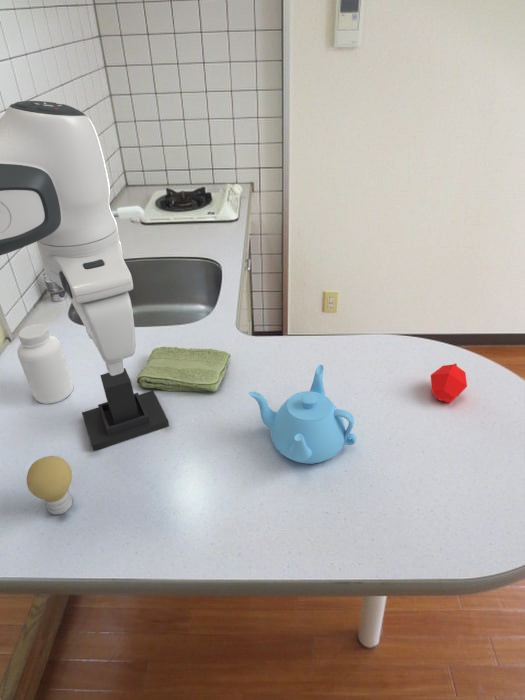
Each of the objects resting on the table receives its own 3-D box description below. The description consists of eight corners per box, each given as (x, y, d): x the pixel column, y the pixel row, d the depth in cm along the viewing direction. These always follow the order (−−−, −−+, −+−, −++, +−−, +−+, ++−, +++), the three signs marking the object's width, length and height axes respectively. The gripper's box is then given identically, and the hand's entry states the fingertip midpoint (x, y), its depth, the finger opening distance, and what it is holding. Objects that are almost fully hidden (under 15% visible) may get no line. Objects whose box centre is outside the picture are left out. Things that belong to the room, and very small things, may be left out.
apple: (457, 392, 95) (472, 358, 98) (421, 384, 99) (436, 352, 102) (463, 413, 99) (476, 380, 103) (428, 405, 103) (442, 374, 107)
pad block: (115, 427, 96) (105, 388, 91) (110, 412, 99) (100, 374, 94) (139, 419, 98) (130, 381, 92) (133, 405, 101) (124, 367, 96)
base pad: (93, 451, 93) (89, 439, 91) (83, 418, 101) (79, 406, 99) (169, 426, 98) (166, 414, 96) (154, 395, 105) (151, 384, 104)
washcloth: (219, 396, 104) (218, 383, 103) (135, 390, 107) (132, 378, 105) (232, 358, 115) (231, 346, 113) (155, 353, 118) (153, 341, 116)
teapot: (366, 453, 90) (371, 408, 84) (291, 488, 85) (291, 442, 79) (319, 405, 101) (321, 362, 95) (250, 433, 95) (247, 389, 90)
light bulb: (38, 528, 80) (18, 484, 74) (41, 496, 85) (23, 453, 79) (81, 518, 81) (65, 474, 76) (82, 487, 86) (67, 443, 81)
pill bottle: (34, 385, 110) (12, 324, 101) (74, 377, 112) (55, 316, 103) (32, 408, 103) (8, 346, 95) (74, 399, 105) (55, 337, 97)
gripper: (37, 230, 67) (62, 323, 74) (75, 298, 52) (102, 404, 60) (86, 221, 69) (106, 311, 77) (137, 282, 54) (155, 386, 62)
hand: (105, 352), depth 68 cm, fingers open, 8 cm apart
